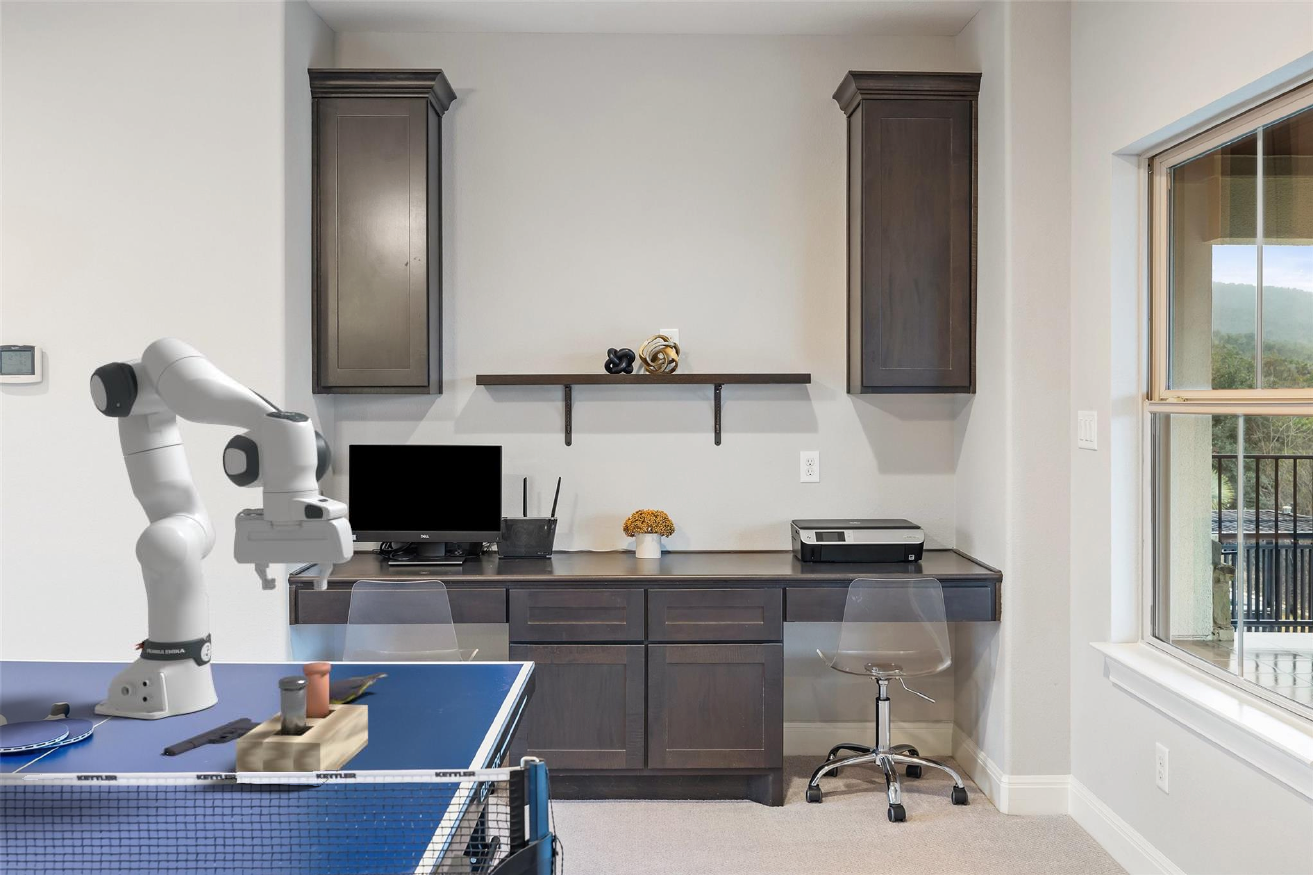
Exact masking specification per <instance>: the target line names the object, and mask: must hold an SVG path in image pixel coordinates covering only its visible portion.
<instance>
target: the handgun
mask: <svg viewBox="0 0 1313 875" xmlns="http://www.w3.org/2000/svg"><path fill="white" fill-rule="evenodd" d="M262 723H263V722H252V719H251V718H249V717H241V718H239V719H236V720H233V721H229V722H228V723H226V724H223V725H220V726H218V727H215V728H212V729H211V730H208V731H206V732H203V733H201V734H197V735H195V736H193V737H190V738H188V739H185V740H182V741H179V742H177V743H175V744H172V745H170V746H167V747H165V748H164V749H163V754H164V753H165V754H167V753H168V754H171V755H170V756H172V755H174V757H175V755H176V756H178V755H180V753H181V754H183V753H185V751H186V752H187V751H190V750H193V749H197V748H199V747H202V746H204V745H207V744H211V743H212V744H213V743H216V744H222V743H223V744H224V743H226V742H229V741H232V740H235V739H237V738H238V739H239V738H241V737H242V736H244V735H245V734H247V733H248V732H250V731H251V730H253V729H254V728H256V727H257V726H259V725H261V724H262ZM165 754H164V755H165ZM168 754H167V755H168ZM177 754H178V755H177Z"/></svg>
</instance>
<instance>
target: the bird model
mask: <svg viewBox="0 0 1313 875" xmlns="http://www.w3.org/2000/svg"><path fill="white" fill-rule="evenodd" d="M388 676H389V675H388V674H387V673H385V672H376V673H374V674H371V675H365V676H358V677H356V676H355V677H354V676H353V677H347V678H340V679H338V680H334V681H329V704H338V705H343V704H344V703H347V702H348V701H351V700H352V699H354V698H356V697H359V696H360V695H361V694H362V693H363V691H365V690H366V688H369V687H371V686H373V685H375V683H376V682H377V680H378V679H380V678H384V677H388Z"/></svg>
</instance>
